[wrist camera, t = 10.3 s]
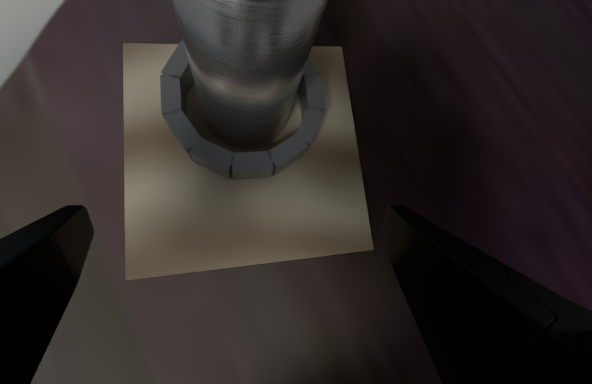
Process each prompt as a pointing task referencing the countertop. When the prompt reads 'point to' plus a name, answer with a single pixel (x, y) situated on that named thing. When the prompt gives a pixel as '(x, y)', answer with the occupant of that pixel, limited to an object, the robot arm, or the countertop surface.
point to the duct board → (236, 183)
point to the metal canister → (247, 62)
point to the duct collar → (221, 160)
